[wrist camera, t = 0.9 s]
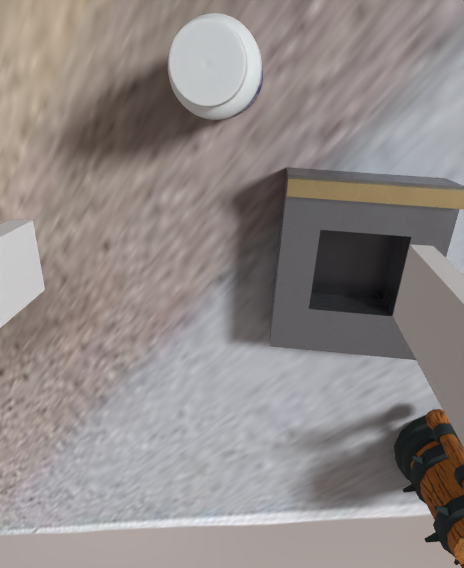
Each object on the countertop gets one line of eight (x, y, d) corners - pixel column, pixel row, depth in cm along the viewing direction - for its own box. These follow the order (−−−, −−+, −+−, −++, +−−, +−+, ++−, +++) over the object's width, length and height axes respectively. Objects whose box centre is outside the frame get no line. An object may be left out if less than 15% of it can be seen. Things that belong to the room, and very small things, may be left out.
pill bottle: (201, 125, 31) (172, 133, 22) (180, 47, 29) (139, 20, 20) (270, 106, 30) (270, 106, 21) (254, 23, 28) (246, -16, 19)
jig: (286, 167, 31) (288, 175, 28) (445, 178, 31) (469, 188, 27) (269, 325, 37) (269, 349, 33) (403, 337, 36) (419, 364, 33)
